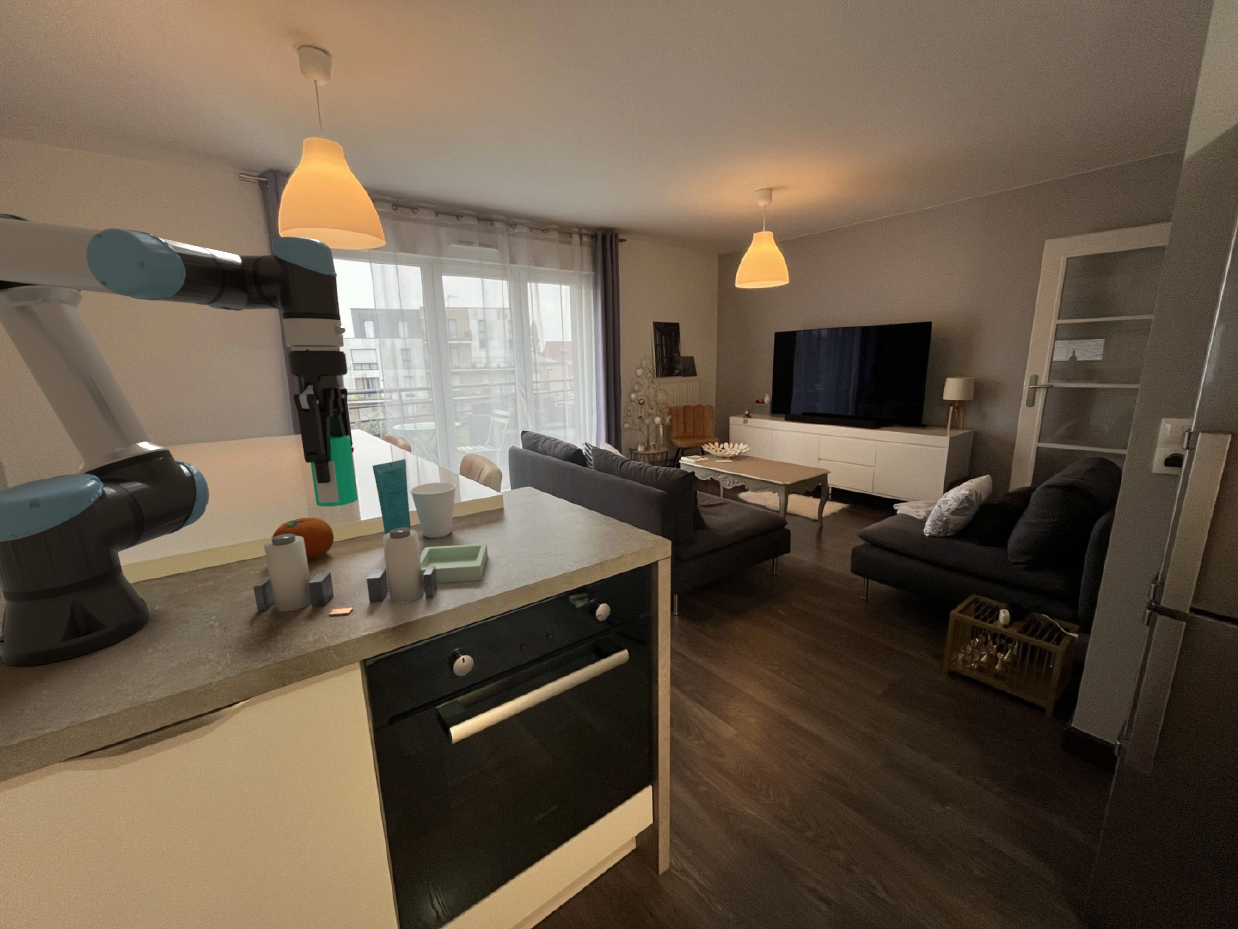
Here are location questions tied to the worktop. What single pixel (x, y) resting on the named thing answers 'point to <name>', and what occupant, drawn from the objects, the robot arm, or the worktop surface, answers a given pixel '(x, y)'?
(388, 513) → the tube
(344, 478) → the candle
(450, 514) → the cup
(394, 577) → the fuse right
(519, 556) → the worktop surface
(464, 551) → the tray
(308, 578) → the cylinder
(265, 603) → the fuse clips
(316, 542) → the fruit
